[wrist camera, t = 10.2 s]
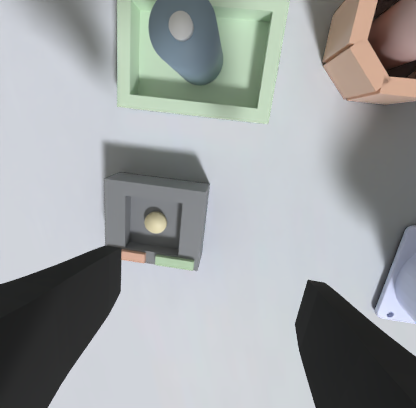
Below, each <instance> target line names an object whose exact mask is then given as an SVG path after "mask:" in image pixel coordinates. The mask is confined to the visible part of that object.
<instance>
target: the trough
mask: <svg viewBox="0 0 416 408" xmlns="http://www.w3.org/2000/svg"><path fill="white" fill-rule="evenodd" d="M156 1H157V0H117V107H123V108H130V109H138V110H147V111H156V112H165V113H173V114H182V115H191V116H200V117H208V118H217V119H226V120H235V121H243V122H252V123H261V124H268V123H269V117H270V111H271V106H272V100H273V94H274V88H275V83H276V77H277V71H278V65H279V60H280V54H281V48H282V43H283V37H284V31H285V25H286V20H287V14H288V8H289V2H290V0H209V2H210V3H211V5H212V7H213V9H214V12H215V15H216V20H217V25H218V31H219V36H220V41H221V47H222V52H223V65H222V69H221V71H220V73H219V75H218V76H217V78H216V79H215V80H213V81H212V82H211V83H209V84H206V85H202V86H198V85H193V84H191V83H189V82H187V81H186V80H185V79H184V78H183V77H182V76H180V75H179V74H178V73H177V72H176V71H175V70H174V69H173V68H171V67H170V66H169V65H168V64H167V63H166V62H165V61H164V60H163V59H161V58H160V56H159V55H158V54H157V53H156V51H155V50H154V48H153V46H152V43H151V41H150V37H149V29H148V25H149V17H150V13H151V10H152V8H153V6H154V4H155V2H156Z"/></svg>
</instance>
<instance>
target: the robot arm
mask: <svg viewBox="0 0 416 408" xmlns="http://www.w3.org/2000/svg"><path fill="white" fill-rule="evenodd" d="M121 252H122V248H119V247H113V246H108V245H106V246H103V247H100V248H97V249H94V250H92V251H89V252H87V253H84V254H82V255H80V256H77V257H75V258H72V259H70V260H67V261H65V262H62V263H60V264H57V265H55V266H52V267H49V268H47V269H44V270H41V271H38V272H36V273H33V274H30V275H28V276H25V277H22V278H19V279H16V280H13V281H10V282H6V283H3V284H0V408H48V406H49V404H50V403H51V401H52V399H53V397H54V396H55V394H56V392H57V391H58V389H59V387H60V385H61V384H62V382H63V381H64V379H65V378H66V376H67V374H68V373H69V371H70V370H71V368H72V367H73V366H74V364H75V363H76V361H77V360H78V358H79V357H80V356H81V354H82V353H83V351H84V350H85V348H86V347H87V346H88V344H89V343H90V341H91V340H92V338H93V337H94V335H95V334H96V333H97V331H98V330H99V328H100V327H101V325H102V324H103V322H104V321H105V319H106V318H107V316H108V315H109V313H110V311H111V309H112V308H113V306H114V304H115V302H116V300H117V298H118V296H119V294H120V292H121ZM389 312H390V313H389ZM387 313H389V314H387ZM375 314H376V315H377V316H378V317H379V318H382V319H389V320H395V321H401V322H407V323H414V324H416V225H412V226H409V227H408V228H406V230H405V232H404V235H403V237H402V240H401V243H400V245H399V248H398V250H397V253H396V256H395V258H394V261H393V264H392V266H391V269H390V271H389V274H388V277H387V279H386V282H385V285H384V287H383V290H382V293H381V295H380V298H379V300H378V303H377V306H376V308H375ZM295 327H296V334H297V341H298V346H299V352H300V355H301V359H302V363H303V366H304V369H305V373H306V376H307V380H308V383H309V387H310V390H311V393H312V397H313V400H314V403H315V407H316V408H416V356H414V355H413V354H412V353H410V352H409V351H408V350H406V349H405V348H404V347H402V346H401V345H400V344H399V343H397V342H396V341H395V340H393V339H392V338H391V337H390V336H388V335H387V334H386V333H384V332H383V331H382V330H381V329H380V328H378V327H377V326H376V325H375V324H373V323H372V322H371V321H370V320H369V319H368V318H366V317H365V316H364V315H363V314H362V313H360V312H359V311H358V310H357V309H356V308H355V307H353V306H352V305H351V304H350V303H349V302H348V301H346V300H345V299H344V298H343V297H342V296H341V295H339V294H338V293H337V292H336V291H335V290H333V289H332V288H331V287H330V286H328V285H327V284H326V283H323V282H317V281H312V280H308V281H307V284H306V288H305V291H304V295H303V298H302V302H301V305H300V308H299V312H298V315H297V319H296V322H295Z"/></svg>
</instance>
